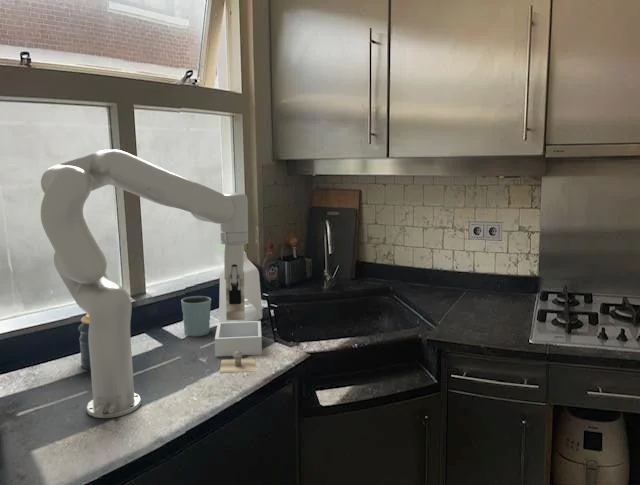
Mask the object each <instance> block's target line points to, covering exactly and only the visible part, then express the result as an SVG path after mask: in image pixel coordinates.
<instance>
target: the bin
mask: <svg viewBox="0 0 640 485" xmlns="http://www.w3.org/2000/svg"><path fill="white" fill-rule="evenodd" d="M262 339H263V338H262V322H261V320H257V321H246V322H221V323H219V322H217V326H216V331H215V336H214V355H215V357H231V356H232V357H233V355H234V353H235V352H236V351H240V352H241V353H242V356H253V355H254V356H255V355H263V349H262V348H263V345H262V343H263V342H262V341H263V340H262Z"/></svg>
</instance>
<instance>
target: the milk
mask: <svg viewBox="0 0 640 485" xmlns="http://www.w3.org/2000/svg"><path fill="white" fill-rule="evenodd" d="M243 271H244V294H245V299H247V300H248V303H249V304H252V305H253V306H254V307H255V308H256V311H257V315H256V318H255V320H254V321H260V320H262V318H263V308H262V306H263V305H262V295H261V294H262V293H261V282H260V280H261V279H260V271H259V270H258V268H257V267H256V266H255V264H253V263H252V262H251V260H250V259H248V257H247V252H246V251H245V250H244V267H243ZM218 295H219V298H218V299H219V300H218V301H219V302H218V304H219V306H218V307H219V308H218V309H219V310H218V323H221V322H238V321H237V320H227V318H226V280H225V269H224V268H223V269H222V270H221V272H220V273H219V294H218Z"/></svg>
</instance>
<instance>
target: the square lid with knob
mask: <svg viewBox="0 0 640 485" xmlns="http://www.w3.org/2000/svg"><path fill="white" fill-rule="evenodd" d="M232 357H233V358H232V359H231V358H230V359H229V358H228V359H221V361H220V368H219V374H233V373H235V374H236V373H237V374H238V373H251V372H252V373H253V372H254V373H256V371H257V370H256V368H257V366H256V357H254V358H253V357H252V358H250V357H249V358H243V355H242V353H241V352H240V351H236V352H235V353H234V355H233V356H232Z"/></svg>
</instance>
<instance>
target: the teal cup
mask: <svg viewBox="0 0 640 485" xmlns="http://www.w3.org/2000/svg"><path fill="white" fill-rule="evenodd" d="M180 301H181V302H180V303H181V311H182V320H183V328H184V334H185V336H188V337H202V336H206V335H208V334H209V333H210V329H211V328H210V324H211V323H210V322H211V321H210V320H211V307H212V306H211V304H212V298H211V297H209V296H205V295H204V296H203V295H195V296H194V295H193V296H187V297H186V296H185V297H184V298H182V299H181V300H180Z"/></svg>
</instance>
